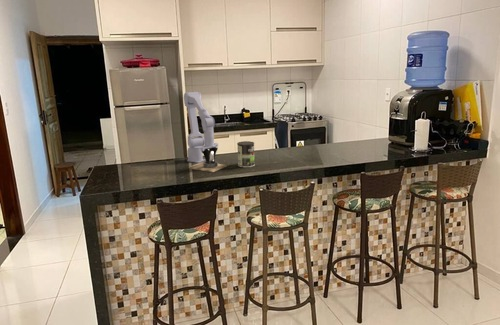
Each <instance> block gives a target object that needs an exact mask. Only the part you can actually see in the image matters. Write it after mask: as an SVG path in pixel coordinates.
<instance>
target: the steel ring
mask: <svg viewBox="0 0 500 325" xmlns="http://www.w3.org/2000/svg"><path fill="white" fill-rule="evenodd" d="M202 162H203V167H204V168H215V167H217V166H218V164H219V162H218V161H217V160H214V163H211V164H208V163H207V161H206V160H205V161H202Z"/></svg>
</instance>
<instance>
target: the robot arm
mask: <svg viewBox="0 0 500 325" xmlns="http://www.w3.org/2000/svg"><path fill="white" fill-rule="evenodd" d="M183 102H184V106H185V107H187V114H188V119H189V120H188V121H189V126H190V133H189V134H188V135H187V146H188V148H187V152H186V153H187V160H186V161H187V162H189V163H190V162H191V163H195V164H198V163H201V162H205V161H208V162H209V160H210V152H211V151H210V150H213V151H214V160H215V159H216V153H217V151H218V148H219V143H218V142H215V133H214V128H215V127H216V121H215V118H214V117H213V116H211V115H210V113H209V111H208V109H207V108H205V107H204V105H203V102H202V93H201V92H200V91H191V92H189V91H188V92H187V91H186V92H184V94H183ZM196 110H197V111H198V112H197V111H196ZM197 115H198V116H199V119H200V120H201V126H202V131H203V133H201V132H200V130H199V124H198V118H197V117H198V116H197Z"/></svg>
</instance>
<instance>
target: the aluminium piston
mask: <svg viewBox="0 0 500 325" xmlns="http://www.w3.org/2000/svg"><path fill="white" fill-rule="evenodd" d="M210 151H211V152H210V160H209V162H208V161H207V163H208V164H211V163H214V161H215V159H214V151H213V150H210Z"/></svg>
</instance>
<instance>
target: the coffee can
mask: <svg viewBox="0 0 500 325" xmlns="http://www.w3.org/2000/svg"><path fill="white" fill-rule="evenodd" d="M236 144H237V166H238V167H240V168H252V167H255V165H256V164H255V142H254V141H247V140H246V141H239V142H237V143H236Z"/></svg>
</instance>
